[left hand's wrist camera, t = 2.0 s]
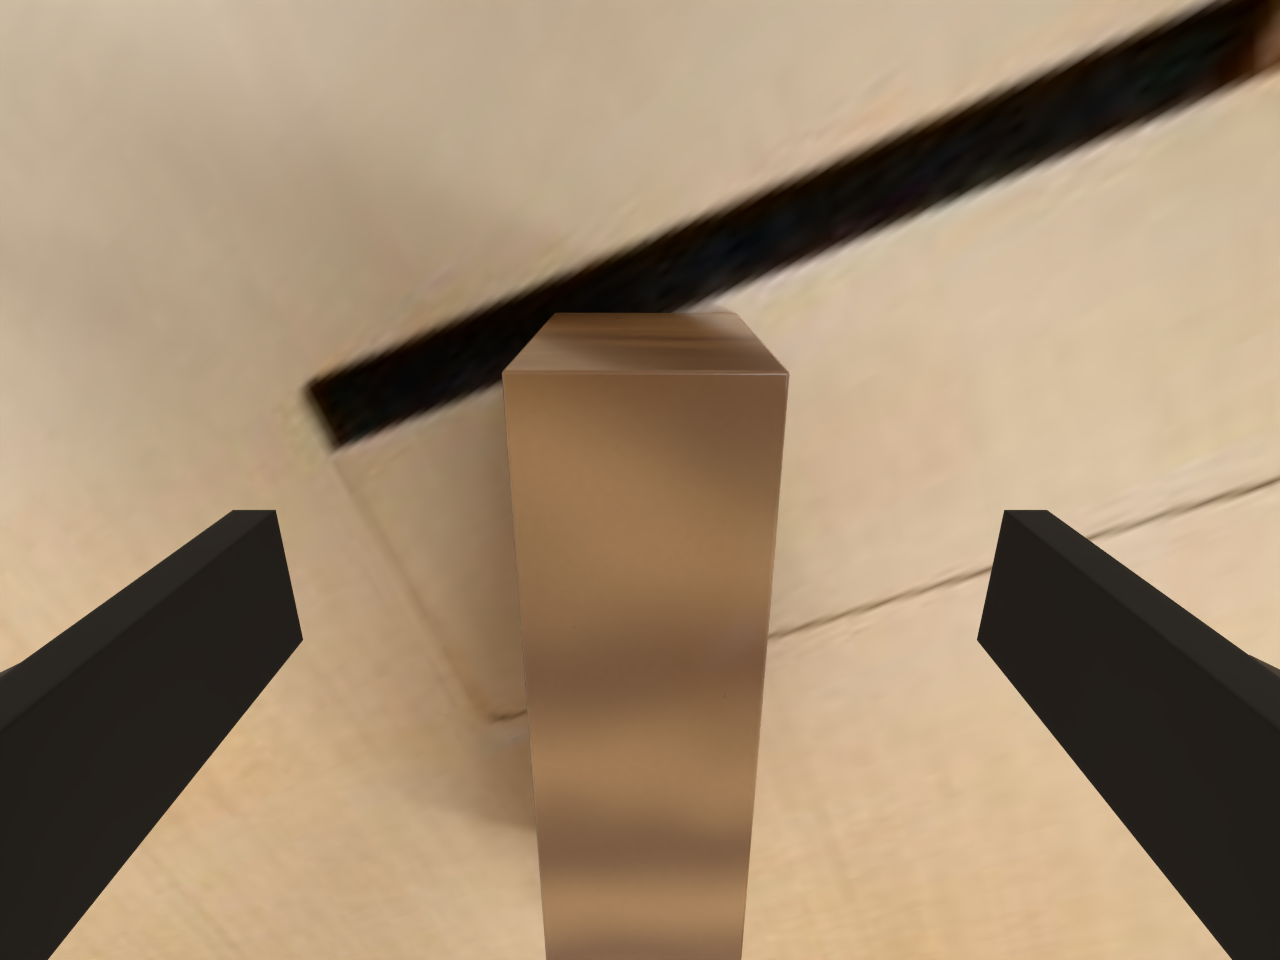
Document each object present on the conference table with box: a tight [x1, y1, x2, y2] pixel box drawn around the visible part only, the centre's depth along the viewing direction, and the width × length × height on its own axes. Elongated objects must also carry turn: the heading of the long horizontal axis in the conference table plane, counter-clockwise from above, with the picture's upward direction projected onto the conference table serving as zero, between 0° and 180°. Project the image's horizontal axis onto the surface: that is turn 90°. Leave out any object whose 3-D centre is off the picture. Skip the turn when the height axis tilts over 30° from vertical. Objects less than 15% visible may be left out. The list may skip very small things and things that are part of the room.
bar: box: [502, 313, 789, 960], centre depth 22 cm, size 24×6×9 cm, turn 0°
